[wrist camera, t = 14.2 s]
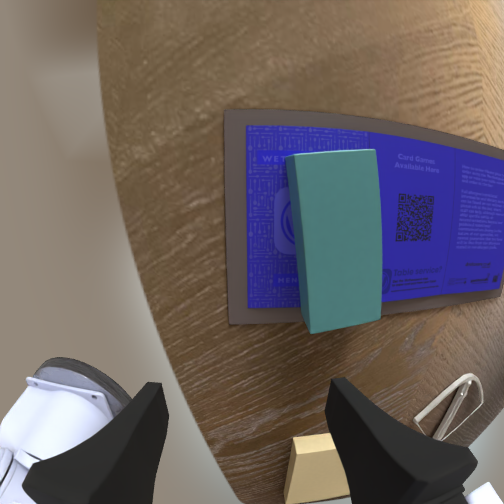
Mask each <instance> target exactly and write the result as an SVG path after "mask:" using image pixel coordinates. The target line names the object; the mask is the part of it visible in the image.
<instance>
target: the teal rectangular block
mask: <svg viewBox="0 0 504 504" xmlns="http://www.w3.org/2000/svg"><path fill="white" fill-rule="evenodd" d="M285 161H286V169H287V177H288V185H289V193H290V201H291V210H292V219H293V228H294V238H295V247H296V258H297V268H298V279H299V291H300V303H301V314H302V316H303V318H304V321H305V323H306V325H307V328H308V330H309V332H310V334H315V333H320V332H325V331H330V330H335V329H340V328H345V327H349V326H354V325H359V324H363V323H367V322H372V321H376V320H380V318H381V298H382V223H381V203H380V189H379V177H378V167H377V157H376V150H375V149H360V150H340V151H325V152H312V153H301V154H293V155H290V156H287V157H285Z"/></svg>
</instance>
